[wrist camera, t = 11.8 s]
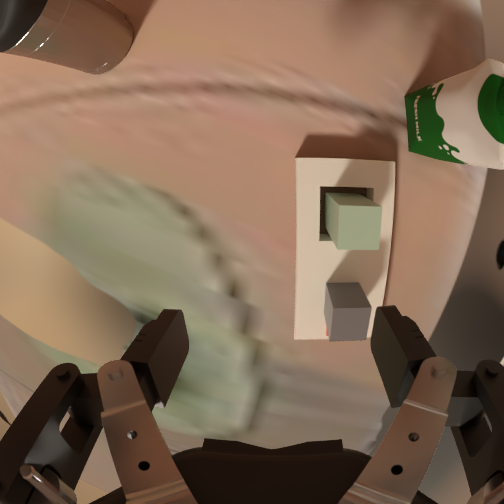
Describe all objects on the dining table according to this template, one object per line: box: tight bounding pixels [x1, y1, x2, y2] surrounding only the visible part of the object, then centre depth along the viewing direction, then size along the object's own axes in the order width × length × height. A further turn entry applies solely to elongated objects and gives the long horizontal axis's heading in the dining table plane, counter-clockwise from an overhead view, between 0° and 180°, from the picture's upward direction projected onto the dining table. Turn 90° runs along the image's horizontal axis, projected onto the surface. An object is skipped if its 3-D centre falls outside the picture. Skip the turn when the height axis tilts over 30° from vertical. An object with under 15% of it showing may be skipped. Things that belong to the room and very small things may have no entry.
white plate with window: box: [294, 158, 395, 341], centre depth 30 cm, size 22×11×9 cm, turn 2°
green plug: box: [325, 192, 382, 250], centre depth 29 cm, size 4×4×9 cm
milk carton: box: [405, 58, 504, 170], centre depth 19 cm, size 9×9×20 cm
